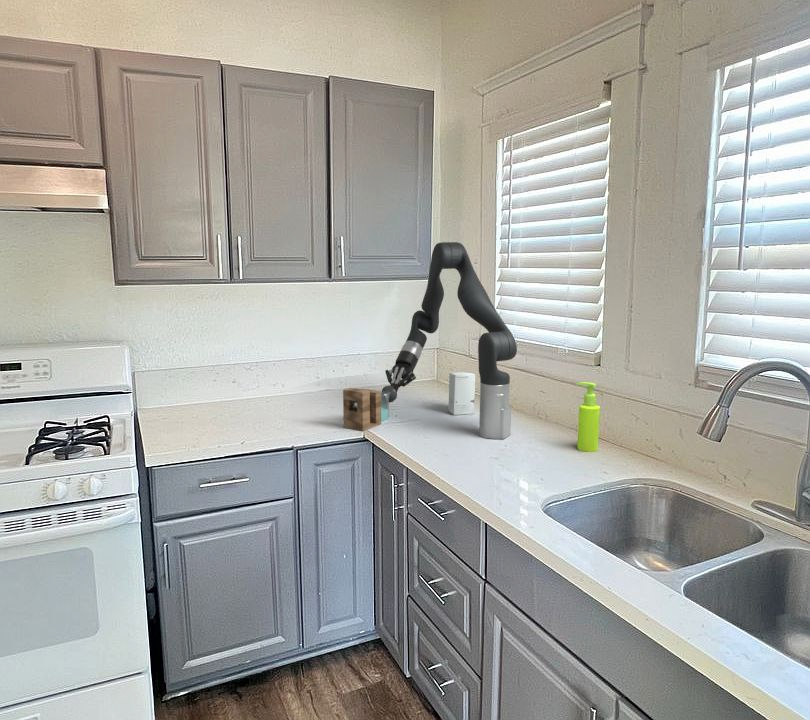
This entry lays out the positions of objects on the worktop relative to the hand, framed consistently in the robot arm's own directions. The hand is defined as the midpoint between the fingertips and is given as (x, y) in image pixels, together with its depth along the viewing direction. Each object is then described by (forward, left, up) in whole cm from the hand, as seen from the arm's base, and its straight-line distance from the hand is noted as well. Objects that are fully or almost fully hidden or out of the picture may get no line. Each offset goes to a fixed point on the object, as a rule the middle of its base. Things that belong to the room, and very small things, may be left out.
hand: (391, 394), depth 219 cm
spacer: (0, +9, -8) cm, 12 cm away
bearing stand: (0, +17, -8) cm, 19 cm away
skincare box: (-20, -17, -8) cm, 27 cm away
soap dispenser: (-71, +1, -8) cm, 71 cm away
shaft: (0, +11, -7) cm, 13 cm away
